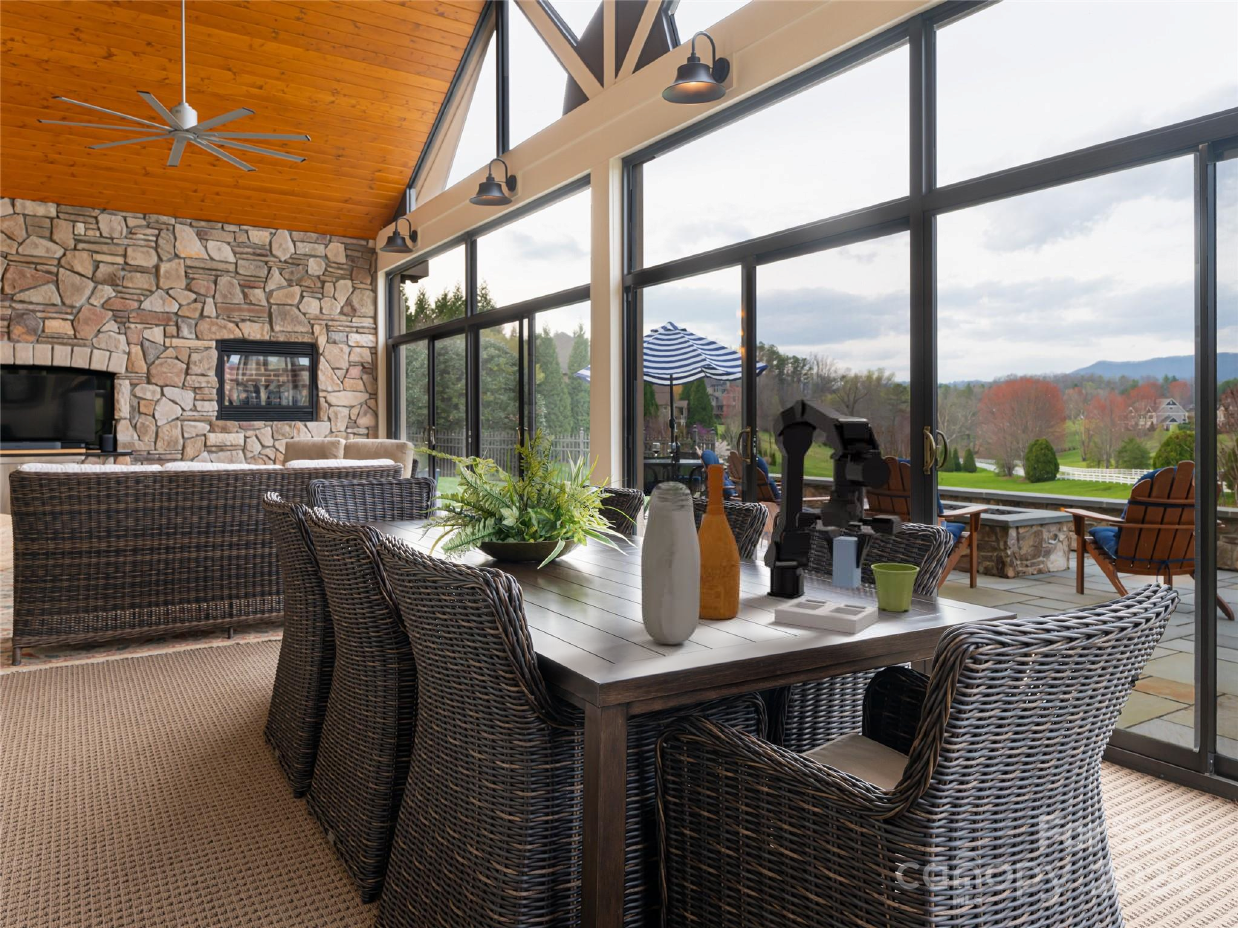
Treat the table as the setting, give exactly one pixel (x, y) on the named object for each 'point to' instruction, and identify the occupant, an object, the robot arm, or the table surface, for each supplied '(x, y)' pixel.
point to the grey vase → (670, 566)
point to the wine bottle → (717, 555)
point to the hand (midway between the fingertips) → (847, 567)
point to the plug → (845, 563)
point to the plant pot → (894, 585)
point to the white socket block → (827, 615)
